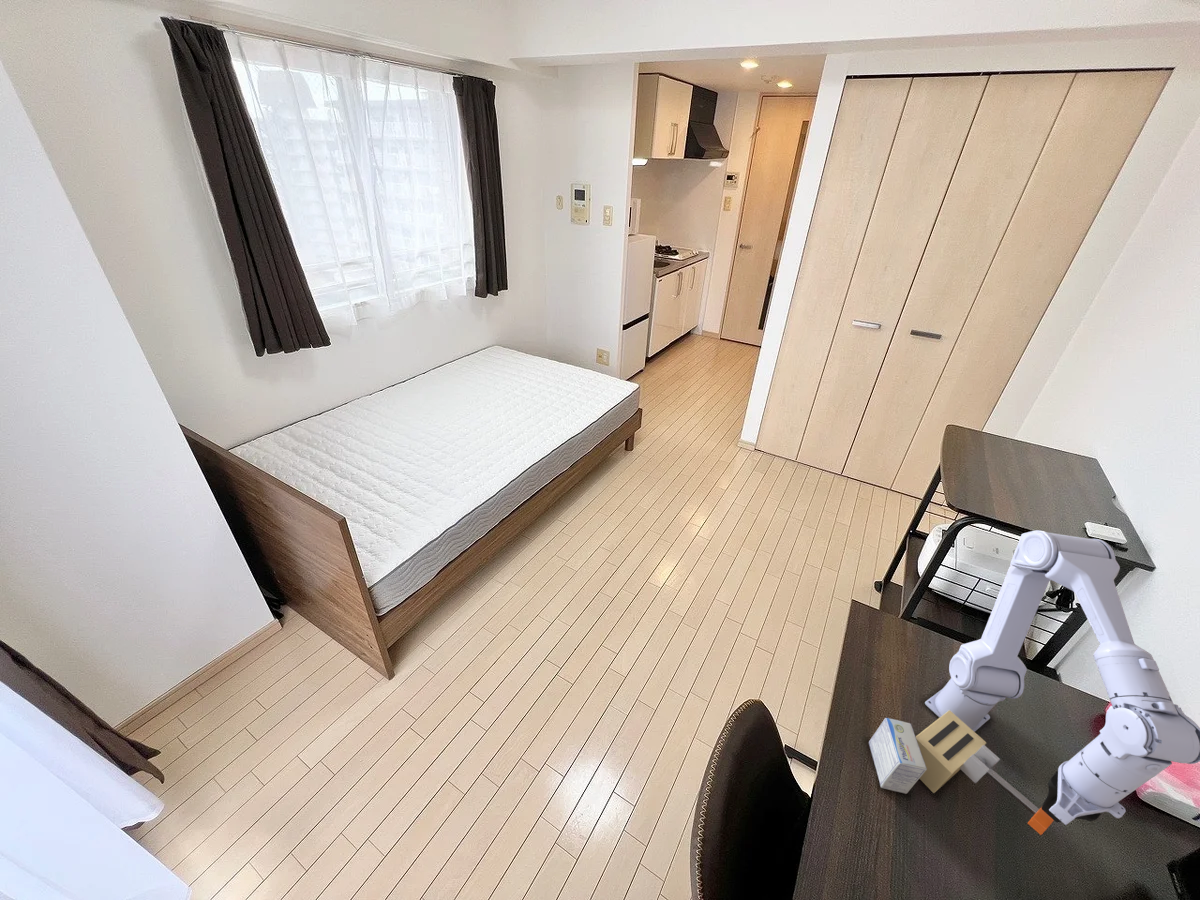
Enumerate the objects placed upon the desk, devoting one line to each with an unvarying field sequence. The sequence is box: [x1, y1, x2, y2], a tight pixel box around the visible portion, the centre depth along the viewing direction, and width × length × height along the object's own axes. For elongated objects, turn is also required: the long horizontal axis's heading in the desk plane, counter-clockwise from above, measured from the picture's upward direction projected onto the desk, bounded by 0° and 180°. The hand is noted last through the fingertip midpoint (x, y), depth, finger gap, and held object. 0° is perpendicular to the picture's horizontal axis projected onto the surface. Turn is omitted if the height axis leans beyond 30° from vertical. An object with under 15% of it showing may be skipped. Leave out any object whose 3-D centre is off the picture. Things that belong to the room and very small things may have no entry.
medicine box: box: [868, 717, 927, 795], centre depth 83 cm, size 8×4×9 cm, turn 168°
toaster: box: [915, 710, 1001, 794], centre depth 84 cm, size 11×9×10 cm
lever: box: [978, 757, 1055, 836], centre depth 77 cm, size 5×10×2 cm, turn 29°
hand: (1050, 813), depth 72 cm, fingers closed
